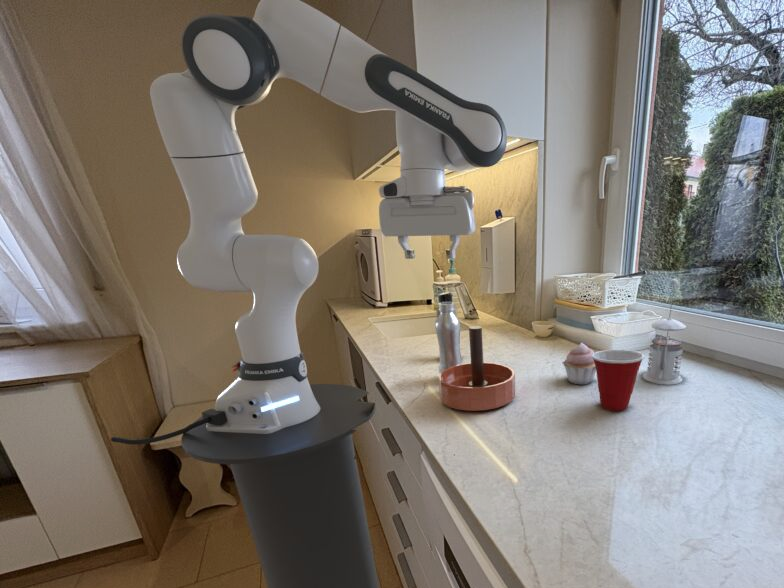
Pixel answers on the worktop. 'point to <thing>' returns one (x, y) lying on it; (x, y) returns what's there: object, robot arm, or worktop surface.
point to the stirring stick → (476, 357)
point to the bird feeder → (665, 352)
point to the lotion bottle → (445, 300)
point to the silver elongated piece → (448, 336)
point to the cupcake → (580, 365)
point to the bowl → (477, 398)
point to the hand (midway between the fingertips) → (430, 258)
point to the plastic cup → (616, 376)
